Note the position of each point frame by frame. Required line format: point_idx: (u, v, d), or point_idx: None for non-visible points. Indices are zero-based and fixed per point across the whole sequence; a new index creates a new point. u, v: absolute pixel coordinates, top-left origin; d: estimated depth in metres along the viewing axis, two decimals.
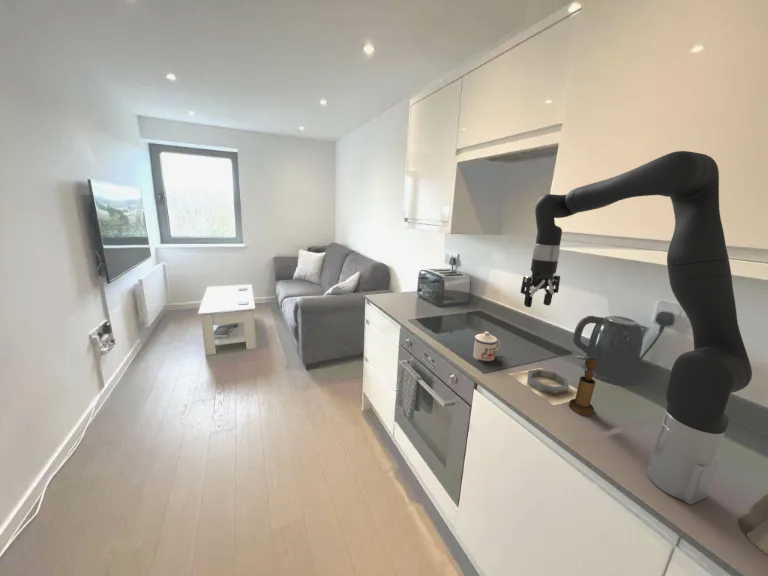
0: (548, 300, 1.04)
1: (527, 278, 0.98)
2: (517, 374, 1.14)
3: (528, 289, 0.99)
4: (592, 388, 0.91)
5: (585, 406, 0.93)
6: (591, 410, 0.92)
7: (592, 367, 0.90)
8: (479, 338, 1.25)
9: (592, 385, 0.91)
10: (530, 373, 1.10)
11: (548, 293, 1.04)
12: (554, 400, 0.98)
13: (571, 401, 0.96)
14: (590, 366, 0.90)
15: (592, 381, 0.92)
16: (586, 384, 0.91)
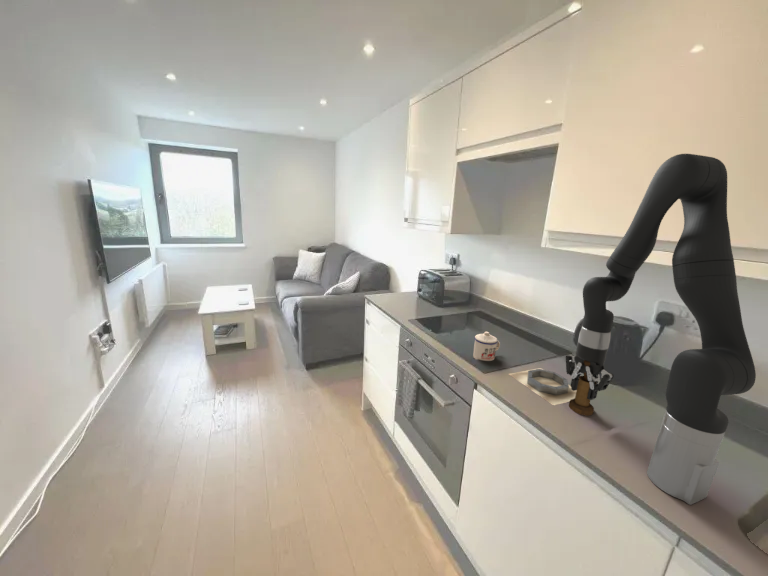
0: None
1: (611, 377, 0.86)
2: (517, 374, 1.14)
3: None
4: None
5: (585, 405, 0.93)
6: (591, 409, 0.92)
7: None
8: (479, 338, 1.25)
9: None
10: (530, 373, 1.10)
11: (577, 378, 0.96)
12: (554, 400, 0.98)
13: (571, 401, 0.96)
14: None
15: None
16: (585, 383, 0.91)
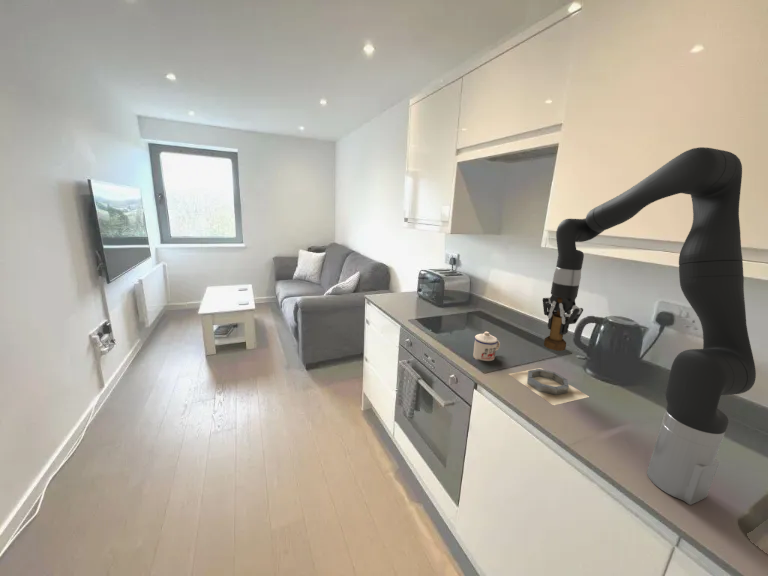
0: None
1: (581, 311, 0.95)
2: (517, 374, 1.14)
3: None
4: None
5: (558, 340, 1.01)
6: (563, 343, 1.01)
7: None
8: (479, 338, 1.25)
9: None
10: (530, 373, 1.10)
11: None
12: (554, 400, 0.98)
13: (546, 338, 1.05)
14: (561, 302, 0.99)
15: None
16: (558, 319, 1.00)
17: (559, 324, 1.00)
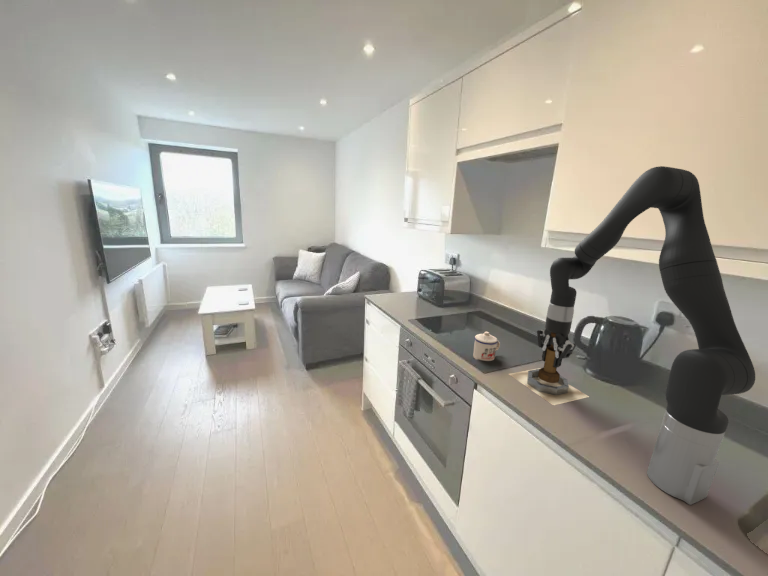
0: None
1: (574, 346, 0.98)
2: (517, 374, 1.14)
3: None
4: None
5: (551, 372, 1.05)
6: (557, 376, 1.04)
7: None
8: (479, 338, 1.25)
9: None
10: (530, 373, 1.10)
11: None
12: (554, 400, 0.98)
13: (540, 369, 1.08)
14: (554, 336, 1.02)
15: None
16: (552, 352, 1.03)
17: (553, 357, 1.03)
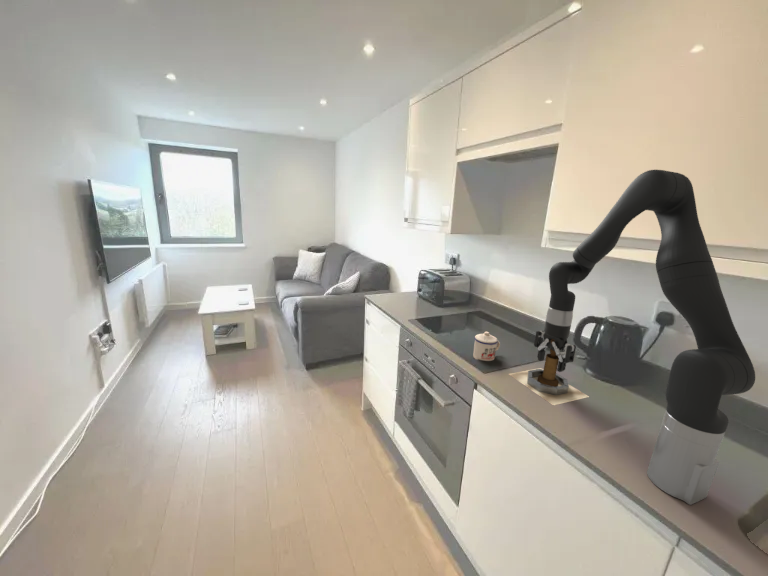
0: (543, 355, 1.09)
1: (574, 347, 0.98)
2: (517, 374, 1.14)
3: None
4: (556, 363, 1.04)
5: (550, 379, 1.05)
6: (556, 383, 1.05)
7: None
8: (479, 338, 1.25)
9: (556, 360, 1.03)
10: (530, 373, 1.10)
11: (543, 349, 1.09)
12: (554, 400, 0.98)
13: (539, 376, 1.08)
14: None
15: (557, 357, 1.05)
16: (551, 360, 1.04)
17: (552, 365, 1.04)
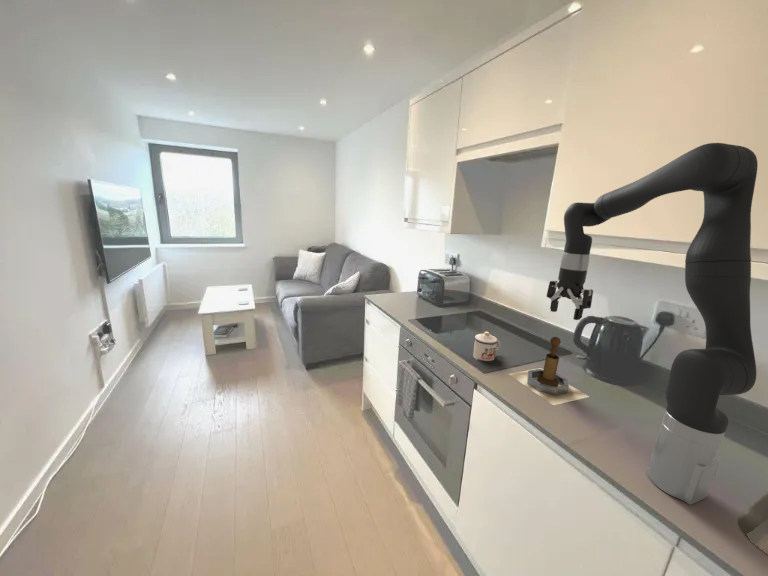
0: (556, 306, 1.05)
1: (591, 291, 0.93)
2: (517, 374, 1.14)
3: None
4: (556, 363, 1.04)
5: (550, 379, 1.05)
6: (556, 383, 1.05)
7: (556, 344, 1.03)
8: (479, 338, 1.25)
9: (556, 360, 1.03)
10: (530, 373, 1.10)
11: (556, 300, 1.04)
12: (554, 400, 0.98)
13: (539, 376, 1.08)
14: (554, 343, 1.03)
15: (557, 357, 1.05)
16: (551, 360, 1.04)
17: (552, 365, 1.04)
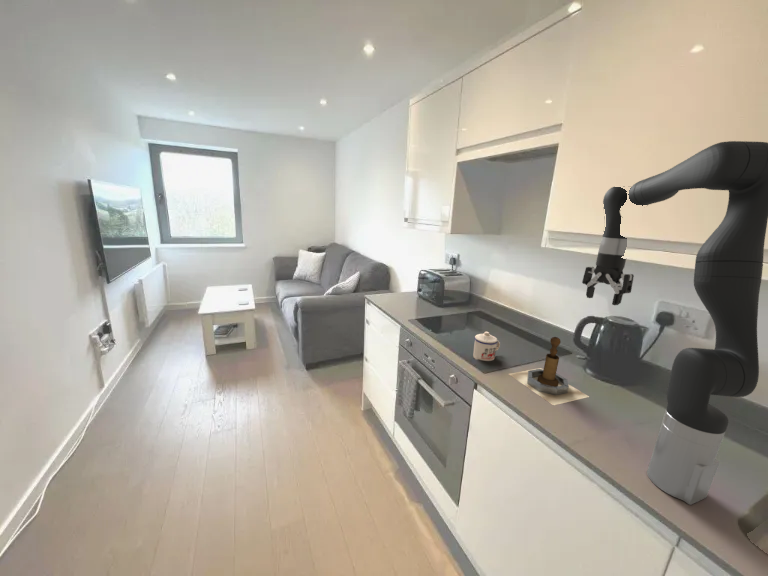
0: (593, 292, 1.04)
1: (632, 276, 0.93)
2: (517, 374, 1.14)
3: None
4: (556, 363, 1.04)
5: (550, 379, 1.05)
6: (556, 383, 1.05)
7: (556, 344, 1.03)
8: (479, 338, 1.25)
9: (556, 360, 1.03)
10: (530, 373, 1.10)
11: (592, 286, 1.04)
12: (554, 400, 0.98)
13: (539, 376, 1.08)
14: (554, 343, 1.03)
15: (557, 357, 1.05)
16: (551, 360, 1.04)
17: (552, 365, 1.04)
